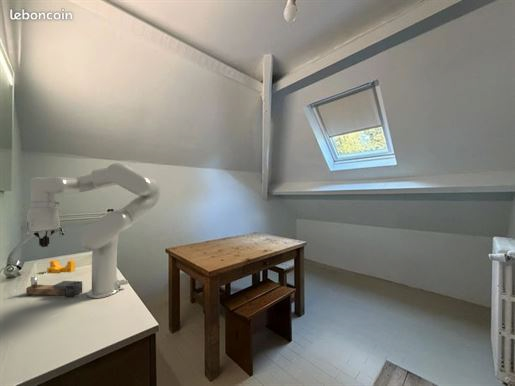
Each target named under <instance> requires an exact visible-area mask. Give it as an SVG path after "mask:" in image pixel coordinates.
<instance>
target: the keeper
mask: <svg viewBox="0 0 515 386" xmlns="http://www.w3.org/2000/svg"><path fill="white" fill-rule="evenodd" d="M52 285H53V289H66V295H65V298H71V299H72V298H74V297H77V296H78V295H80V294H82V293H83V281H78V280H63V281H60V282H58V283H56V284H52Z"/></svg>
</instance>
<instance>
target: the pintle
mask: <svg viewBox="0 0 515 386" xmlns="http://www.w3.org/2000/svg"><path fill="white" fill-rule="evenodd" d="M37 285H38V276H33V277H31V278H30V286H31V287H36V286H37Z"/></svg>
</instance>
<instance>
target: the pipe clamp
mask: <svg viewBox="0 0 515 386" xmlns="http://www.w3.org/2000/svg"><path fill="white" fill-rule="evenodd" d="M75 263H76V260H75V259H71V260H68V261H67V264H66V266H62V265H60V264H59V261H58V259H54V260H53V259H52V260H50V261H49V266H48V267H47V269H46V271H47V272H46V274H61V273H73V272H75V269H76V264H75Z"/></svg>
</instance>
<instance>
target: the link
mask: <svg viewBox="0 0 515 386" xmlns="http://www.w3.org/2000/svg"><path fill="white" fill-rule="evenodd" d="M53 285H54V284H52V285H51V284H50V285H49V284H37V286H36V287H31V285H30V286H28V287H26V290H25V291H26V292H25V293H26V295H27V296H30V295H31V296H32V295H42V296H43V295H44V296H49V295H51V296H66V289H53Z"/></svg>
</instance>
